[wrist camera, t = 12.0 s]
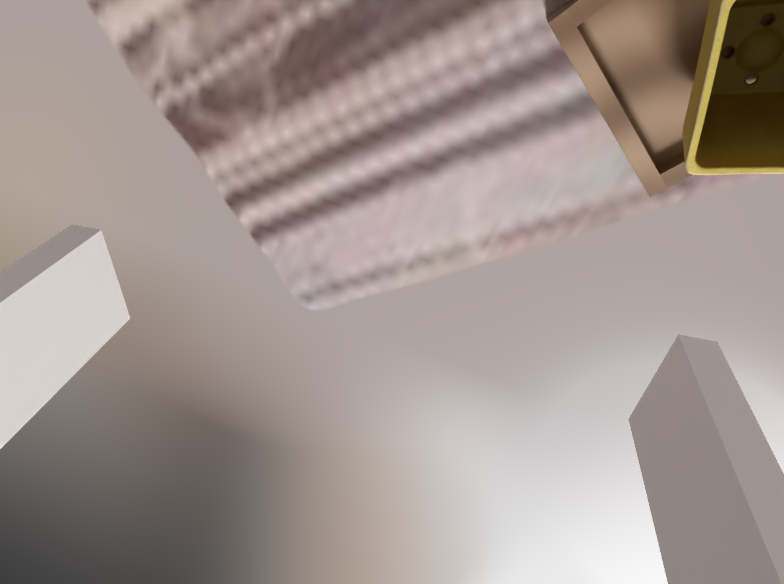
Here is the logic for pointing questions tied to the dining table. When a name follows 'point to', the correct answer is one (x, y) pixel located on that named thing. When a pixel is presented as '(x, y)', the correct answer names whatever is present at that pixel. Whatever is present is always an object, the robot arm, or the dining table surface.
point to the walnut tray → (639, 74)
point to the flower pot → (738, 92)
